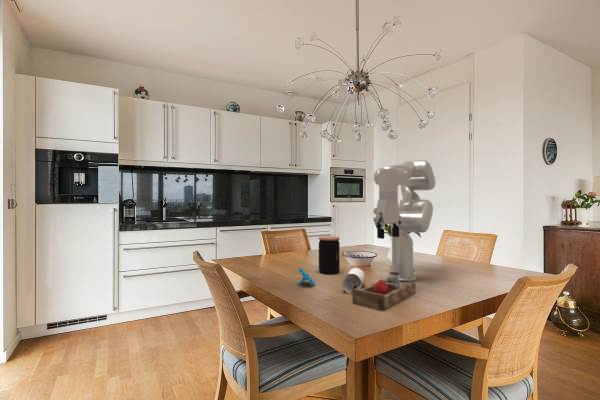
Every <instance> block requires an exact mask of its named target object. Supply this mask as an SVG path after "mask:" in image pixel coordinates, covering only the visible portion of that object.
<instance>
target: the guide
mask: <svg viewBox="0 0 600 400" xmlns="http://www.w3.org/2000/svg"><path fill="white" fill-rule="evenodd" d="M383 281H384V282H386V283H391V279H390V278H389V277H387V278H385V279H383ZM376 283H377V282H375V283H373V284H370V285H368V286H365V287H363V288H362V287H361V289H360V290H359V289H356V288H353V289H352V291H353V293H352V304H354V305H358V306H362V307H365V308H369V309H375V310H379V311H382V312H383V311H384V310H386V309H388V308H390V307H392V306H394V305H395V304H397V303H399V302H401V301H403V300H404V299H406V298H408V297H410V296H412V295H414V294H416V282H414V281H410V282H409V283H407V284H406V283H405V285H404V286H402V287H400V288H398V289H396V290H394V291H391V292H389V293H387V294H385V295H384V294H379V293H374V291H373V288H374V285H375V284H376Z"/></svg>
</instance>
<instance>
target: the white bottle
mask: <svg viewBox="0 0 600 400" xmlns="http://www.w3.org/2000/svg"><path fill="white" fill-rule="evenodd" d="M365 279H366V274H365V273H364V271H363V270H362V269H360V268H359V267H353V268H351V269H350V270H349V271H348V273H347V274H345V275H344V276H343V278H342V279H341V282H340V284H341V287H342V289H343V290H344V291H345V292H346V293H348V294H353V289H354V287H355V289H359V290H360V289H362V287H363V284H364V282H365ZM351 292H352V293H351Z"/></svg>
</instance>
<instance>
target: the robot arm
mask: <svg viewBox="0 0 600 400" xmlns="http://www.w3.org/2000/svg"><path fill="white" fill-rule="evenodd" d="M373 181H374V183H375V184H376V185H377V186H378V200H377V205H376V212H375V216H374V217H373V222H374V226H375V228H376V234H377V235H376V238H377V239H380V240H381V239H385V229H384V228H385V226H386V225H390V230H391V231H390V232H391V272H399V273H400V275H399V282H414V281H417V278H418V277H417V275H414V272H415V271H416V269H415V268H414V240H413V238H412V236H411V235H410V234H409V233H416V234H417V233H418V234H419V233H422V234H423V233H426V232H427V231H428V229H430V228H429V227H430V224H431V221H432V217H433V212H434V206H433V203H432V202H431V201H430V200H428V199H421V197H420V196H419V195H418V193H417V192H416V191H431V190H433V189H434V188H435V187H436V177H435V174H434V170H433V167H432V166H431V163H430V162H429V161H428V160H425V159H421V160H407V161H404V162H401V163H398V164H393V165H388V166H382V167H380V168H377V169H376V170H375V171H374V174H373ZM399 186H400V190H401V196H402V199H401V201H400V202H399V201H398V198H399V197H398V196H399V194H398V193H399V192H398V191H399V189H398V188H399ZM410 206H411V207H410ZM388 278H390V279H391V274H390V273H389V274H388Z"/></svg>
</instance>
